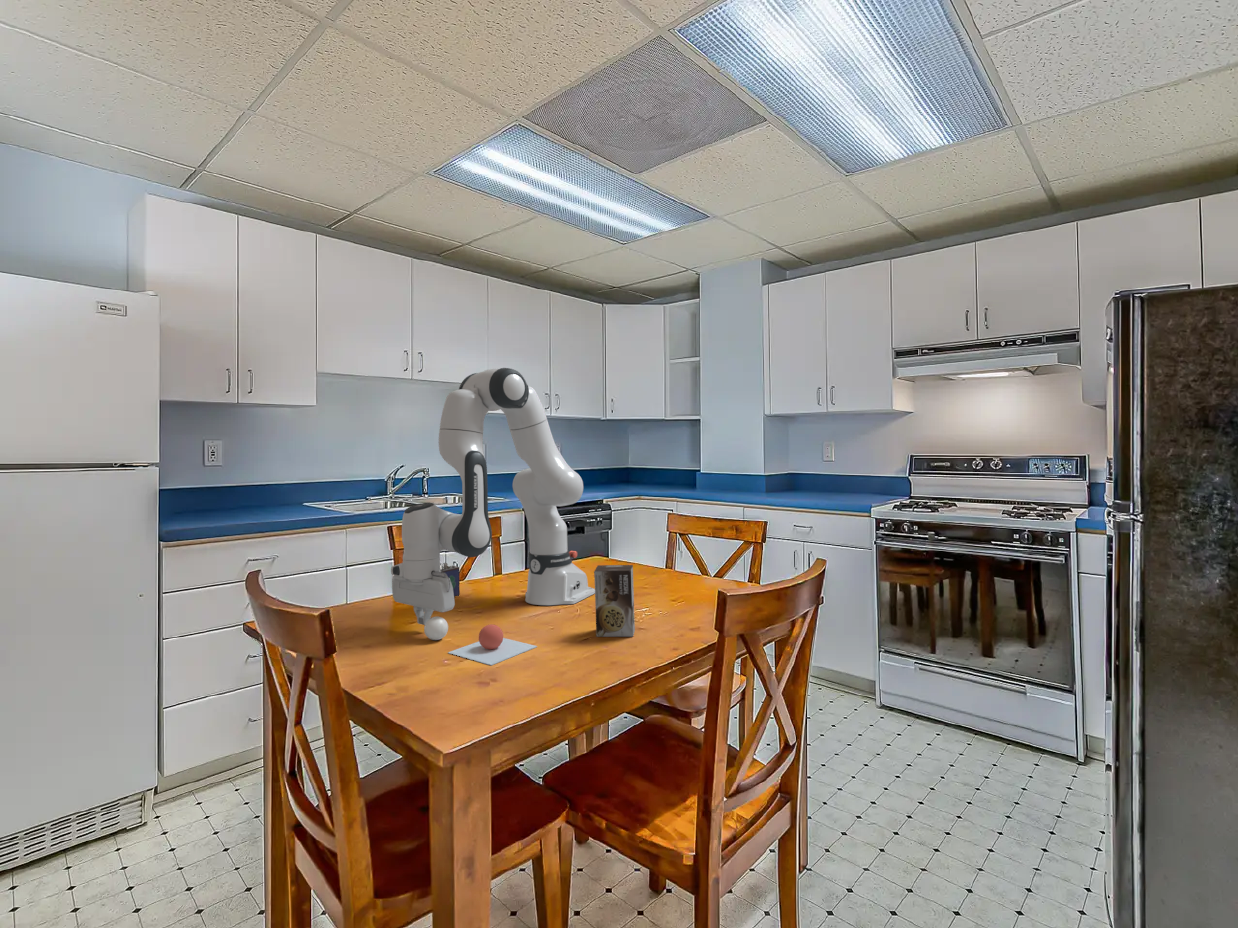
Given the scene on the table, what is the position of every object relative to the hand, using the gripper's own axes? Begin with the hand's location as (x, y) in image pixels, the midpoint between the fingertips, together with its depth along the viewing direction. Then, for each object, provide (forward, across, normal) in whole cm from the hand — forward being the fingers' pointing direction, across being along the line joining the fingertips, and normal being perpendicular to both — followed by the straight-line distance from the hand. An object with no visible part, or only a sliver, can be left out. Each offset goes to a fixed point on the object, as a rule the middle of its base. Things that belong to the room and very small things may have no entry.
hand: (424, 623), depth 157 cm
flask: (+2, +22, -25) cm, 33 cm away
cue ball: (-1, -8, +2) cm, 8 cm away
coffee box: (+2, -41, -25) cm, 48 cm away
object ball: (-1, -24, 0) cm, 24 cm away
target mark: (+2, -25, 0) cm, 25 cm away
